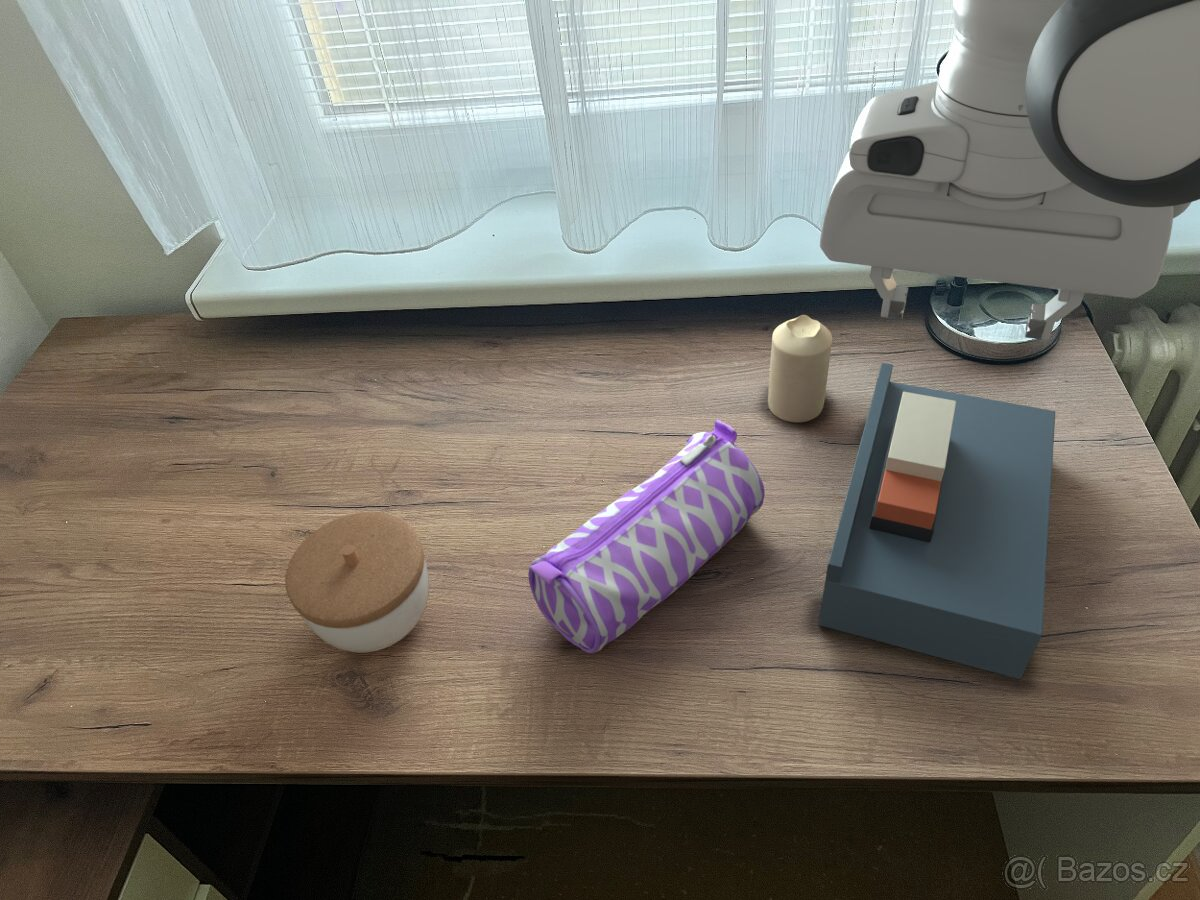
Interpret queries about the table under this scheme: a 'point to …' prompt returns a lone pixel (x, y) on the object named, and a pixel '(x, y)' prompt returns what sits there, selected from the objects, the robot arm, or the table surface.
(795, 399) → the candle
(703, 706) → the table surface
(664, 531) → the pencil case
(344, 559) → the trinket box
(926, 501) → the cream and orange block
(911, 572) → the grey lipped base tray
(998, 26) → the robot arm
